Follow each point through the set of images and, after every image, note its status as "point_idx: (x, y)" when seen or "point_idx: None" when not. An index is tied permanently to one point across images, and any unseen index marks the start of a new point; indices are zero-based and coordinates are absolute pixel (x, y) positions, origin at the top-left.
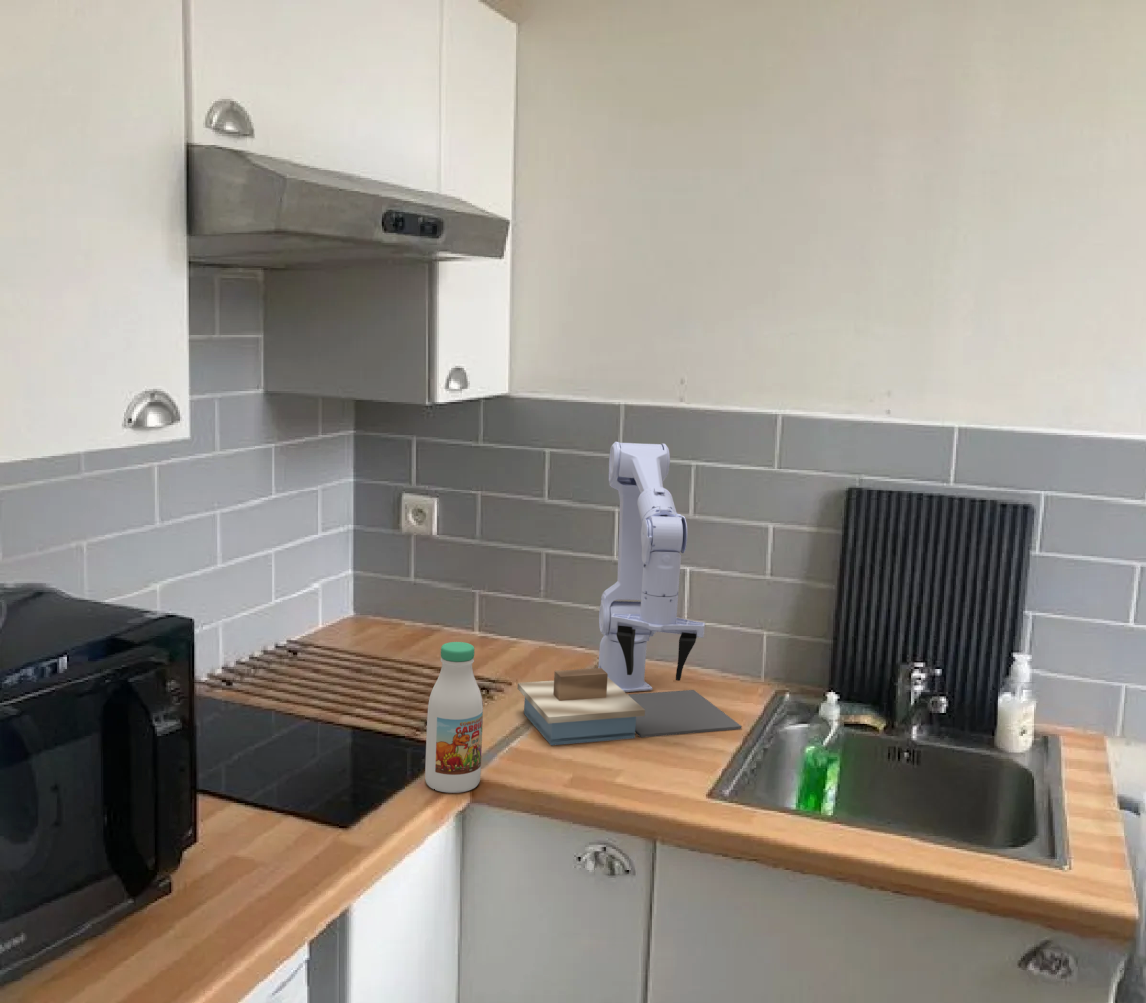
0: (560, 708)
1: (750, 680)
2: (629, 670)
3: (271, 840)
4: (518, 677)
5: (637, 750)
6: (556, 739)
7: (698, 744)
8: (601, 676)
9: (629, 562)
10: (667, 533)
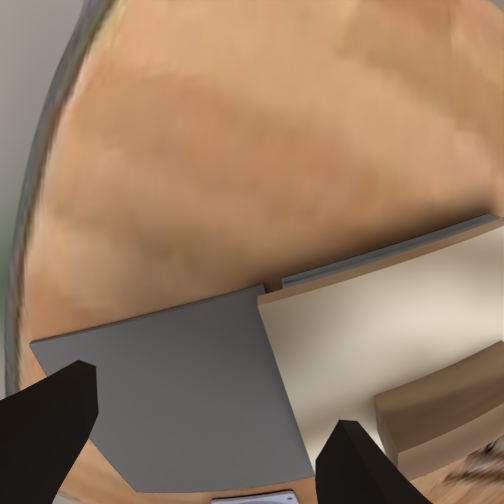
0: None
1: (67, 497)
2: (358, 433)
3: None
4: (425, 497)
5: (284, 188)
6: (487, 218)
7: (107, 249)
8: (418, 437)
9: None
10: None
